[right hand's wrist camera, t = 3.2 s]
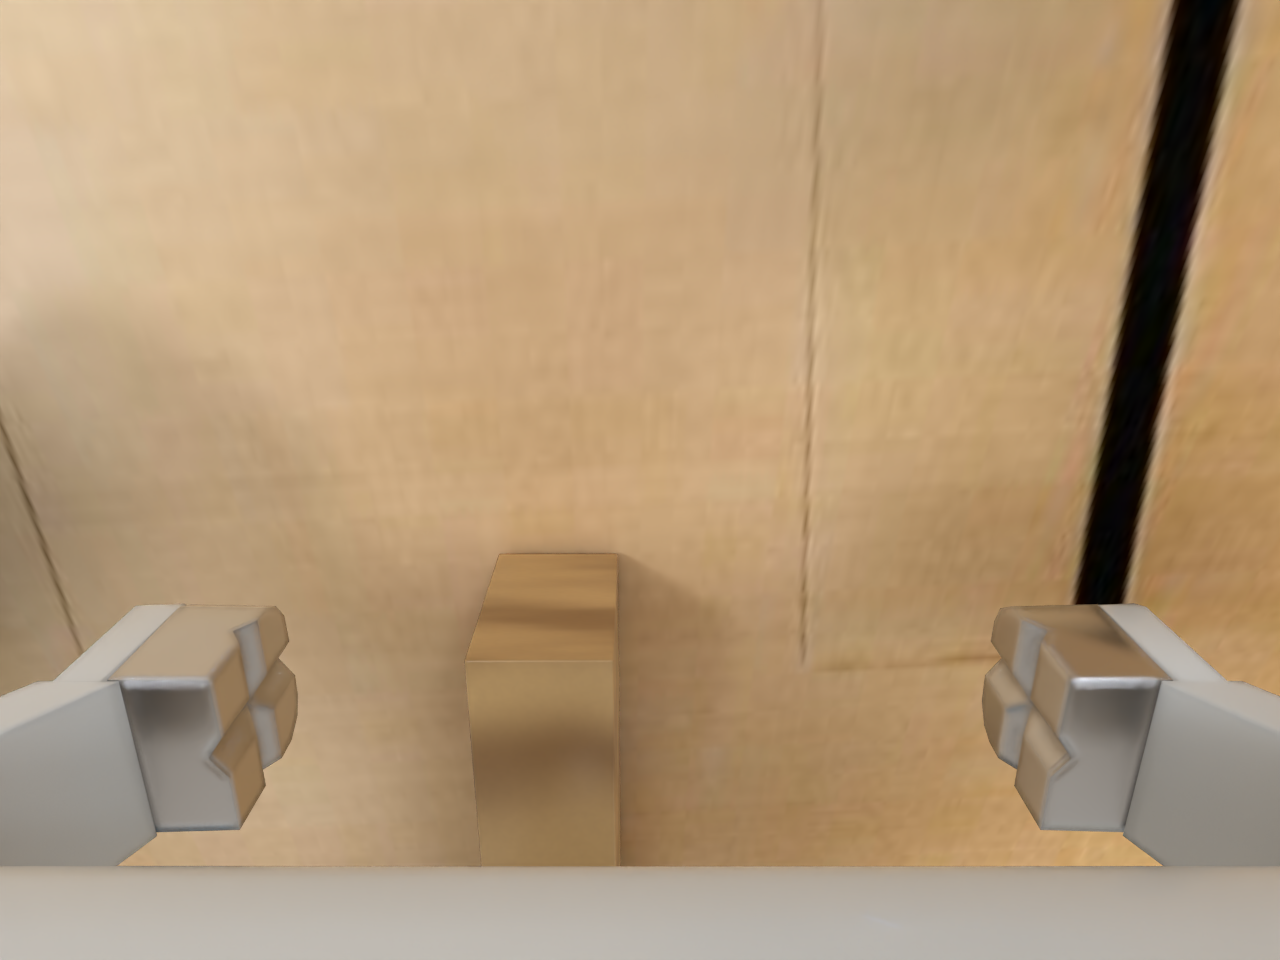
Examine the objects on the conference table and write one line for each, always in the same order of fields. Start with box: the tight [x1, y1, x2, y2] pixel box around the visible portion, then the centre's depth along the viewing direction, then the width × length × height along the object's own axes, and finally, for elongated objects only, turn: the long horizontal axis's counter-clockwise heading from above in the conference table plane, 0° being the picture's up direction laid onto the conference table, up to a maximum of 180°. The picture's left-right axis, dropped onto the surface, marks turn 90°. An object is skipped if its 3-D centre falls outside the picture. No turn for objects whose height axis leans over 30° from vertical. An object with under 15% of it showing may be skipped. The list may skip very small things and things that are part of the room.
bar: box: [464, 554, 621, 866], centre depth 42 cm, size 26×6×9 cm, turn 0°
